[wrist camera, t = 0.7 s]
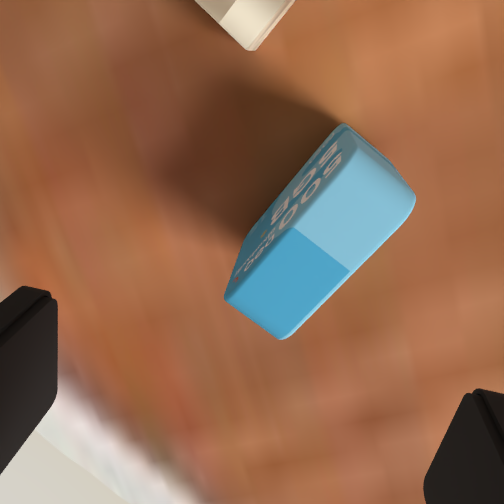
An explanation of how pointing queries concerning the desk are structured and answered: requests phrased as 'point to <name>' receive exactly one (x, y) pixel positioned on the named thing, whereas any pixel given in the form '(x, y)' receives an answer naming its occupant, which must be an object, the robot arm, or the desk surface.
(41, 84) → the desk surface
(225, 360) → the desk surface
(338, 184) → the data package
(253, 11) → the pin block
